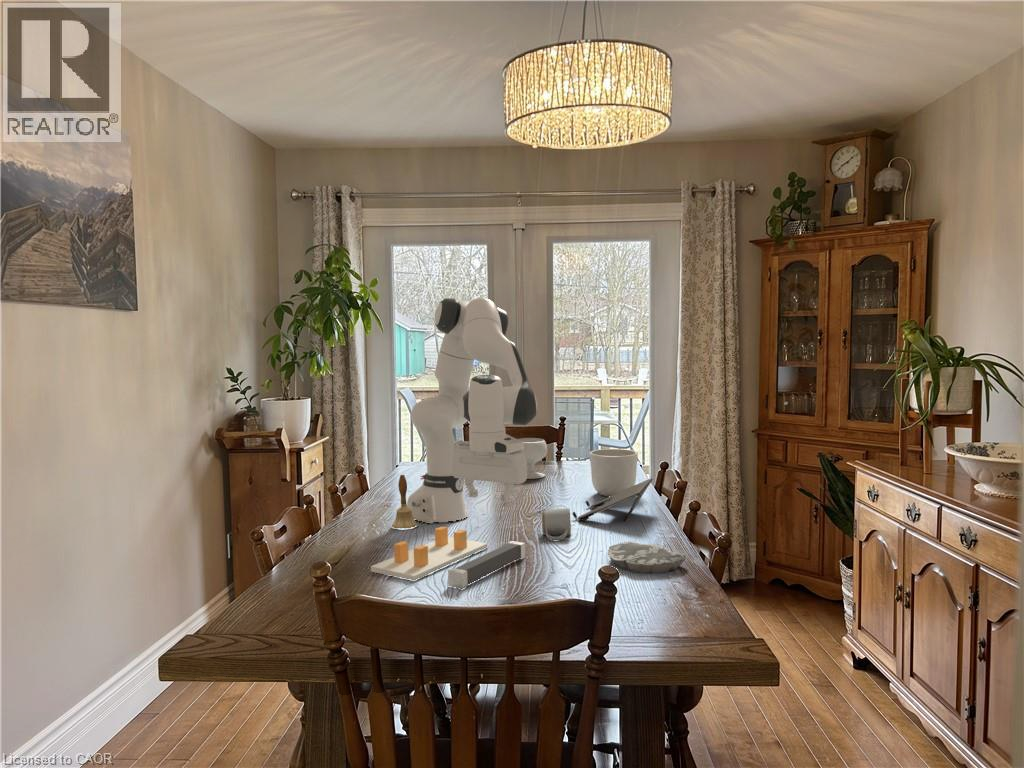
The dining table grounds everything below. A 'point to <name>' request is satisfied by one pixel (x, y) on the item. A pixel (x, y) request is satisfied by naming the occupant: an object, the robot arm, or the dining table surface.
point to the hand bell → (403, 508)
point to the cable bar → (485, 564)
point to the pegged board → (428, 555)
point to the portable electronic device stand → (617, 500)
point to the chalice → (534, 454)
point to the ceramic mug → (556, 523)
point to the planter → (613, 470)
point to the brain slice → (644, 557)
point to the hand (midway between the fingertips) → (489, 499)
